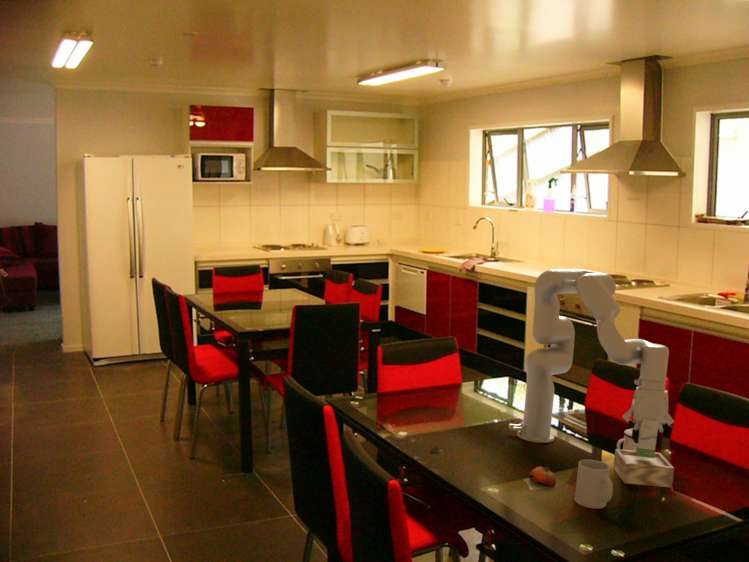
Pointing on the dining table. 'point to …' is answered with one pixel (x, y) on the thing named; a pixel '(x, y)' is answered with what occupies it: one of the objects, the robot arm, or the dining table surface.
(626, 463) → the tray
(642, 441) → the ink box
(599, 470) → the mug
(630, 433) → the teacup with lid
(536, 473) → the tomato
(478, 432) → the dining table surface
